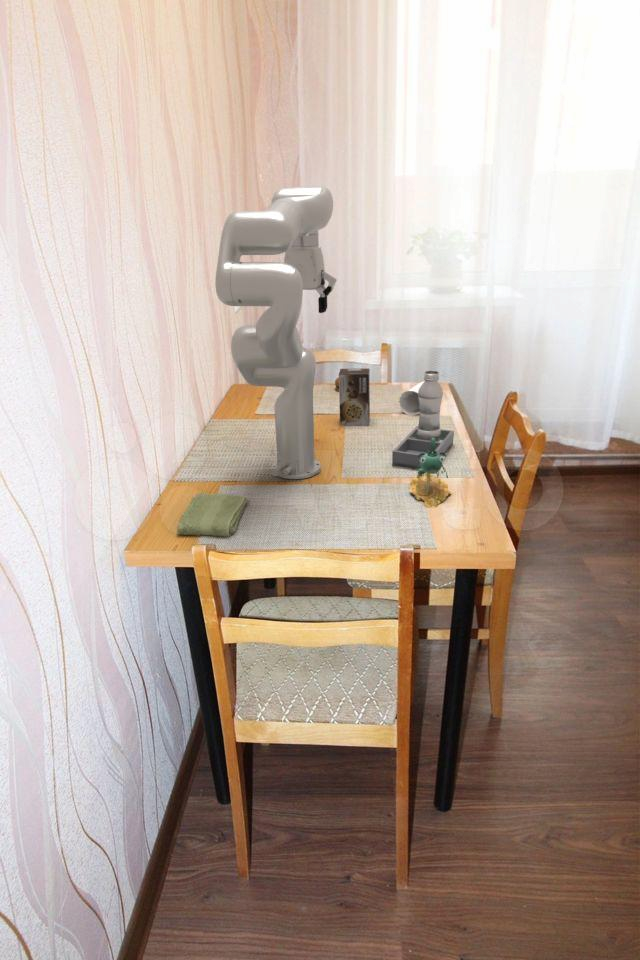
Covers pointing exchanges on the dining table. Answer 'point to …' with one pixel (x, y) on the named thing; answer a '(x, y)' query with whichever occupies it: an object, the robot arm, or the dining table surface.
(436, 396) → the plastic bottle
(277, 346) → the robot arm
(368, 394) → the coffee box
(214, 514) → the washcloth
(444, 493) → the frog figurine
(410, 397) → the white hollow cylinder
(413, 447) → the grey compartment tray
